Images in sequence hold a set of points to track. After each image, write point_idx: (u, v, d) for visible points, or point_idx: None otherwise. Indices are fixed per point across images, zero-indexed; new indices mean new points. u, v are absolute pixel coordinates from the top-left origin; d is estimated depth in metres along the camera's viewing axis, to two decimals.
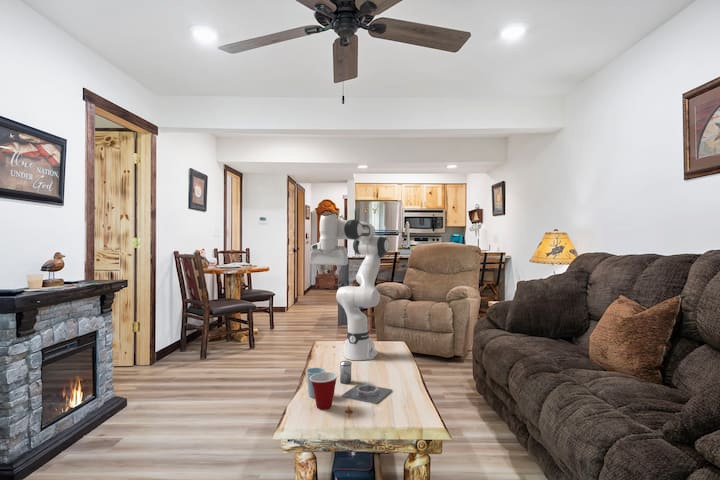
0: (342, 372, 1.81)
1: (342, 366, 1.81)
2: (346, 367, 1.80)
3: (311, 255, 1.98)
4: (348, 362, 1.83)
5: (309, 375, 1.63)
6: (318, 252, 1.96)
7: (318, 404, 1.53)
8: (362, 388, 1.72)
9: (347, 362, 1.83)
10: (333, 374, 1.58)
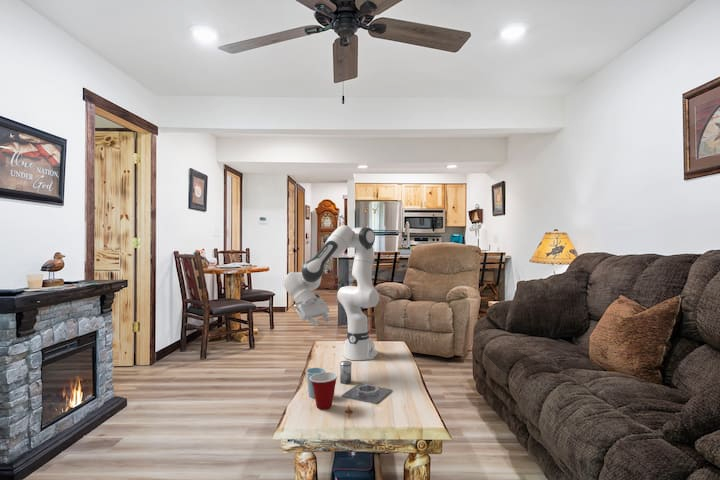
0: (342, 372, 1.81)
1: (342, 366, 1.81)
2: (346, 367, 1.80)
3: None
4: (348, 362, 1.83)
5: (309, 375, 1.63)
6: None
7: (318, 404, 1.53)
8: (362, 388, 1.72)
9: (347, 362, 1.83)
10: (333, 374, 1.58)
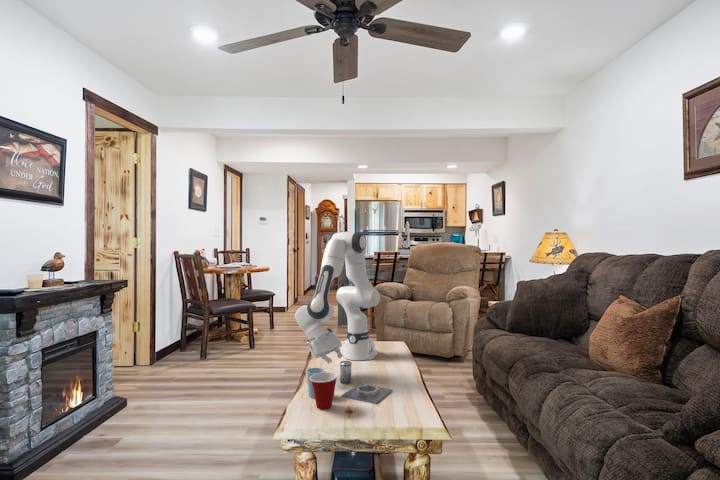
0: (342, 372, 1.81)
1: (342, 366, 1.81)
2: (346, 367, 1.80)
3: None
4: (348, 362, 1.83)
5: (309, 375, 1.63)
6: None
7: (318, 404, 1.53)
8: (362, 388, 1.72)
9: (347, 362, 1.83)
10: (333, 374, 1.58)
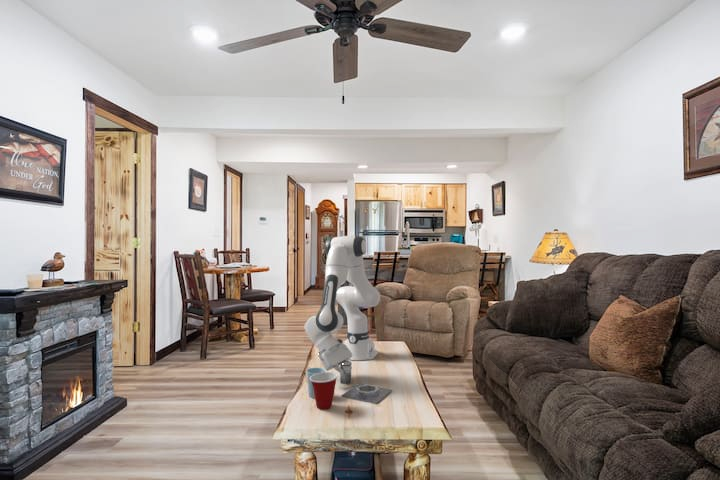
0: None
1: (342, 366, 1.81)
2: (346, 367, 1.80)
3: None
4: (348, 362, 1.83)
5: (309, 375, 1.63)
6: None
7: (318, 404, 1.53)
8: (362, 388, 1.72)
9: (347, 362, 1.83)
10: (333, 374, 1.58)
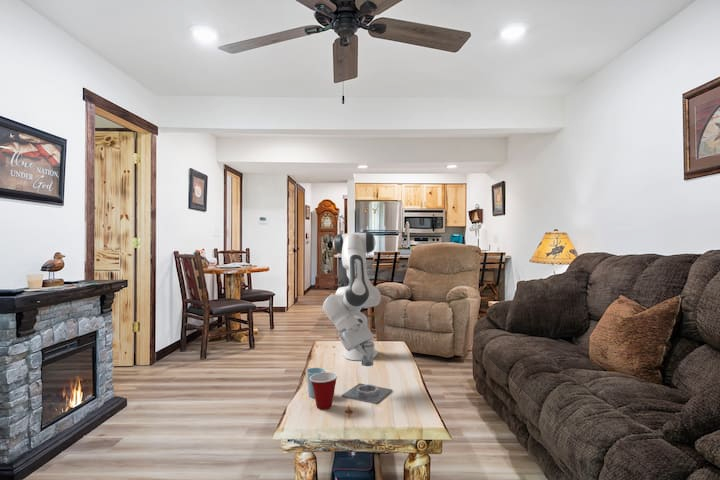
0: None
1: (364, 347, 1.67)
2: (368, 348, 1.66)
3: None
4: (370, 343, 1.69)
5: (309, 375, 1.63)
6: None
7: (318, 404, 1.53)
8: (362, 388, 1.72)
9: (369, 343, 1.69)
10: (333, 374, 1.58)
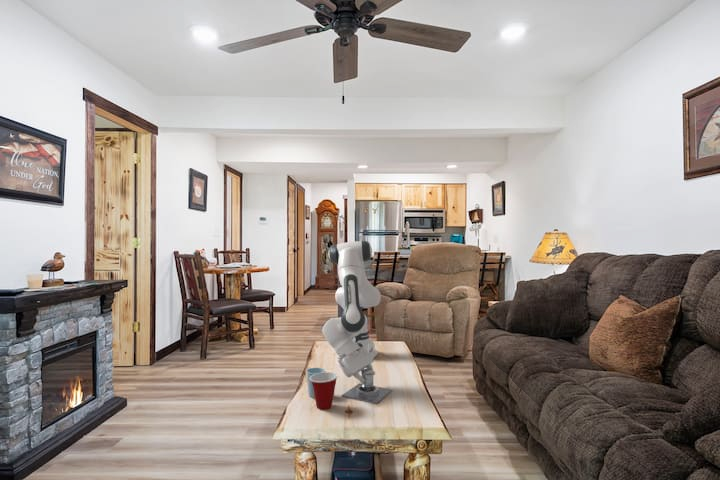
0: (364, 381, 1.67)
1: (364, 375, 1.67)
2: (368, 376, 1.66)
3: None
4: (370, 370, 1.69)
5: (309, 375, 1.63)
6: None
7: (318, 404, 1.53)
8: None
9: (369, 370, 1.69)
10: (333, 374, 1.58)
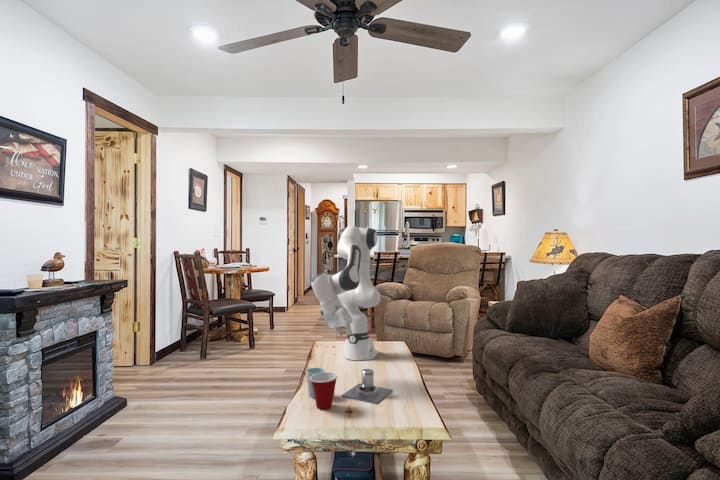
0: (364, 381, 1.67)
1: (364, 375, 1.67)
2: (368, 376, 1.66)
3: (325, 320, 1.88)
4: (370, 370, 1.69)
5: (309, 375, 1.63)
6: (327, 316, 1.85)
7: (318, 404, 1.53)
8: None
9: (369, 370, 1.69)
10: (333, 374, 1.58)
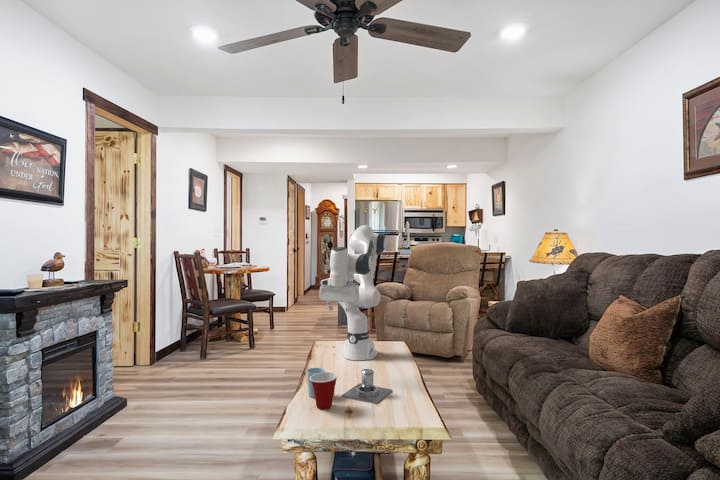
0: (364, 381, 1.67)
1: (364, 375, 1.67)
2: (368, 376, 1.66)
3: (321, 291, 1.91)
4: (370, 370, 1.69)
5: (309, 375, 1.63)
6: (328, 288, 1.89)
7: (318, 404, 1.53)
8: None
9: (369, 370, 1.69)
10: (333, 374, 1.58)
